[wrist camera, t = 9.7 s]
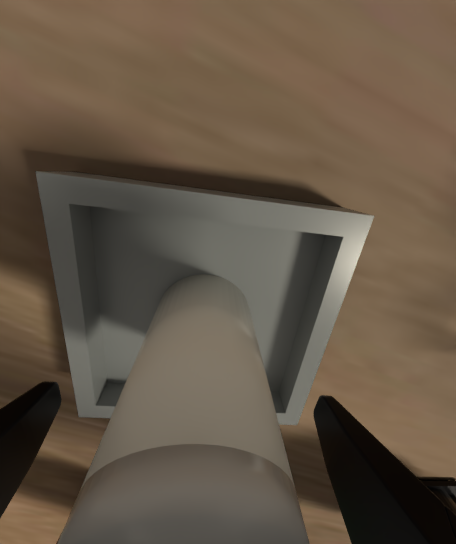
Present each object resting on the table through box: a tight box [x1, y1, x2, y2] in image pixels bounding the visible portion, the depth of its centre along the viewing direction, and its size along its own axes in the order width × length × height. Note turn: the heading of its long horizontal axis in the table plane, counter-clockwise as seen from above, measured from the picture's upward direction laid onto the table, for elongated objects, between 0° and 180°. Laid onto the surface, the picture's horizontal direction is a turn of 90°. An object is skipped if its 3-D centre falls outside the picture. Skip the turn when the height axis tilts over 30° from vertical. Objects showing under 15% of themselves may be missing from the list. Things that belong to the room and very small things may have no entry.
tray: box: [35, 171, 374, 425], centre depth 12 cm, size 13×13×2 cm
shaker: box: [58, 274, 309, 544], centre depth 9 cm, size 5×5×9 cm
